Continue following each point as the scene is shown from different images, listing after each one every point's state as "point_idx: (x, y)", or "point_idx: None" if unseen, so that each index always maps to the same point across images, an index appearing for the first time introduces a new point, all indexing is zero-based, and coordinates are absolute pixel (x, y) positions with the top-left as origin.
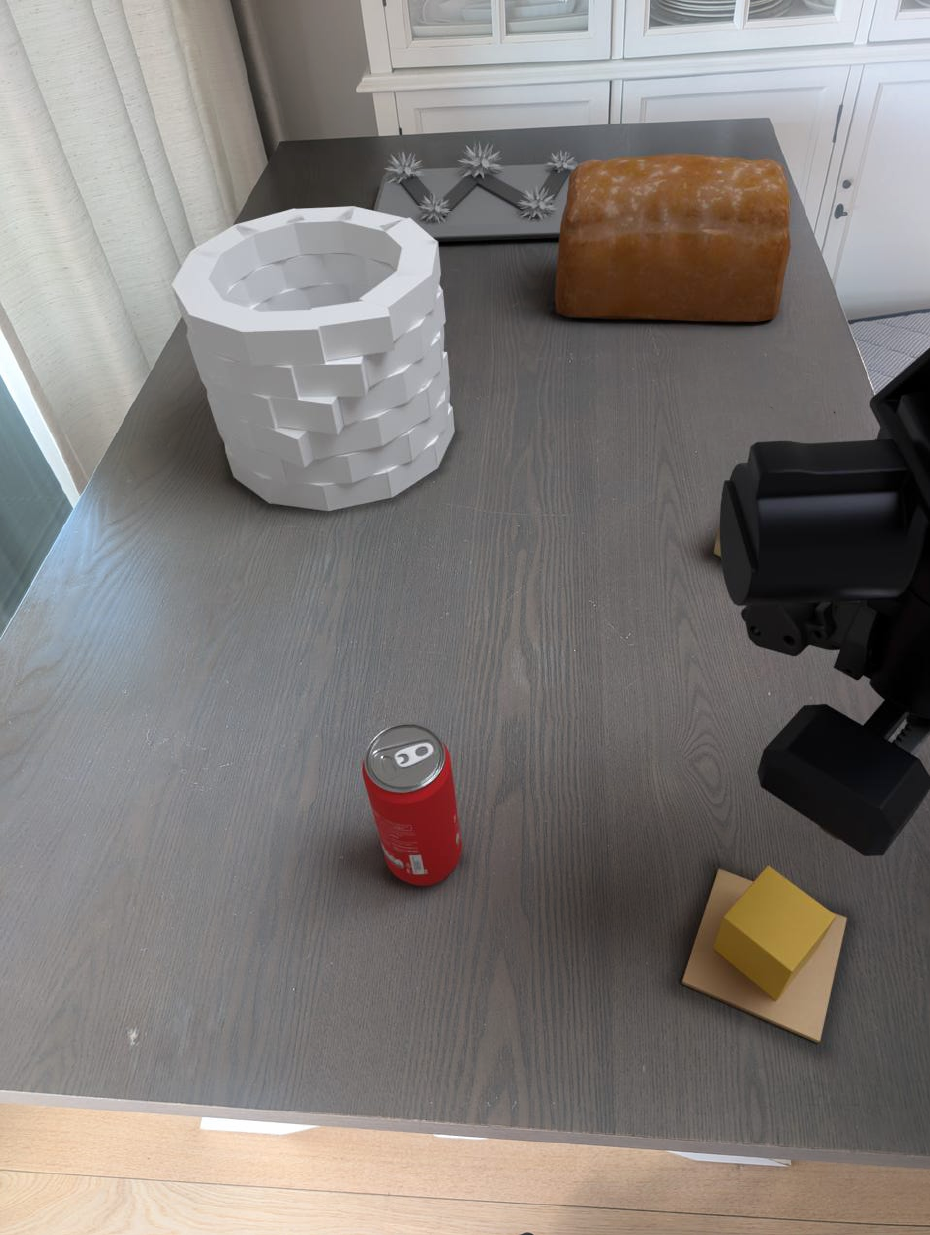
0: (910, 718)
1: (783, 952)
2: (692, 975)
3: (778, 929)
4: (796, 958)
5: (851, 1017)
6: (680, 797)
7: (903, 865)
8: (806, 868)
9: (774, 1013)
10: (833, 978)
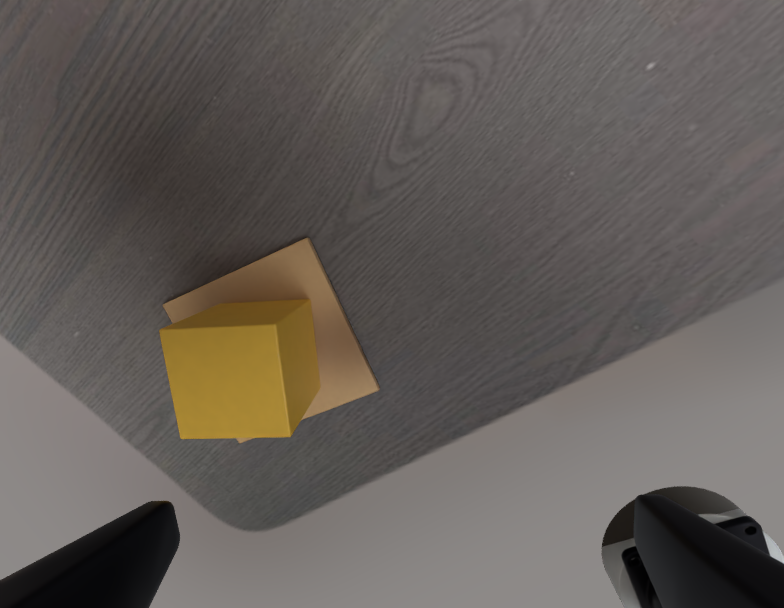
0: (649, 520)
1: (189, 418)
2: (176, 308)
3: (208, 394)
4: (198, 433)
5: (292, 447)
6: (358, 113)
7: (501, 396)
8: (403, 315)
9: None
10: (305, 418)
